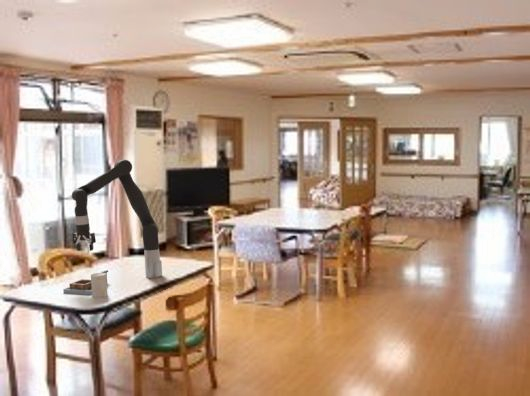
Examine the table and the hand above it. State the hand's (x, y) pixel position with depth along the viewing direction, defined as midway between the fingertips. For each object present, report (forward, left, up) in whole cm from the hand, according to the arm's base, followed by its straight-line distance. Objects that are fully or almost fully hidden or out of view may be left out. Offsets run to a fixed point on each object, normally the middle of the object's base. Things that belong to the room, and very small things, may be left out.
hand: (85, 250), depth 347 cm
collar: (-4, +8, -21) cm, 22 cm away
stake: (-7, -8, -22) cm, 24 cm away
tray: (-5, +8, -22) cm, 23 cm away
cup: (-21, +17, -22) cm, 34 cm away
